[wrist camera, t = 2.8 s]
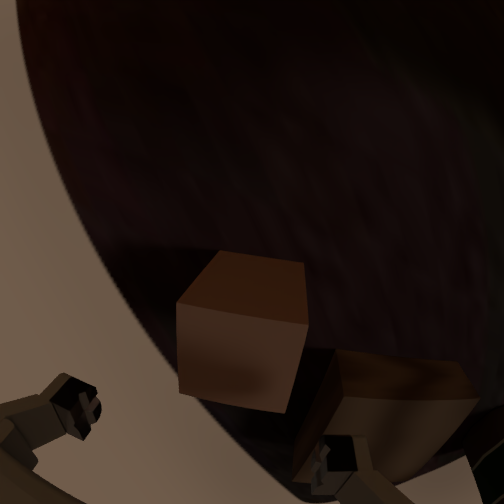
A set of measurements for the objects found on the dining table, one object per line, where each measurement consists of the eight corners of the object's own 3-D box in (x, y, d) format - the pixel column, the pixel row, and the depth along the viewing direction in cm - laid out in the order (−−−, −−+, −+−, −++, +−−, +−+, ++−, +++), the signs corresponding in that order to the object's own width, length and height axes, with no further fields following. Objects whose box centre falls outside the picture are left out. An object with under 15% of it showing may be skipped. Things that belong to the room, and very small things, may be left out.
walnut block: (455, 359, 18) (480, 398, 13) (398, 442, 21) (407, 480, 16) (335, 346, 18) (344, 396, 14) (294, 437, 22) (291, 481, 17)
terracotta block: (303, 262, 17) (308, 324, 10) (289, 334, 18) (284, 413, 12) (219, 250, 17) (176, 302, 11) (214, 321, 19) (179, 392, 12)
